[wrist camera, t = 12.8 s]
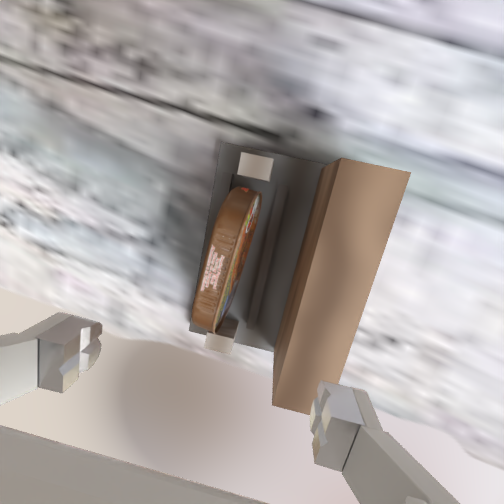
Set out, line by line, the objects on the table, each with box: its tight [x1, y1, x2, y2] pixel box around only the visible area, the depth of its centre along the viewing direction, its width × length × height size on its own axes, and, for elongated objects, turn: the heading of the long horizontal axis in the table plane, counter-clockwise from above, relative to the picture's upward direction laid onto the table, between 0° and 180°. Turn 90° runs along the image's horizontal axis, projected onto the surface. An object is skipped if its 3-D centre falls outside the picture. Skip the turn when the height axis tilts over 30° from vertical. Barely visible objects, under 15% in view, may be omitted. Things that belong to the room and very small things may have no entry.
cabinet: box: [189, 142, 411, 415], centre depth 27 cm, size 16×23×10 cm
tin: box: [191, 187, 262, 334], centre depth 27 cm, size 15×3×8 cm, turn 163°
